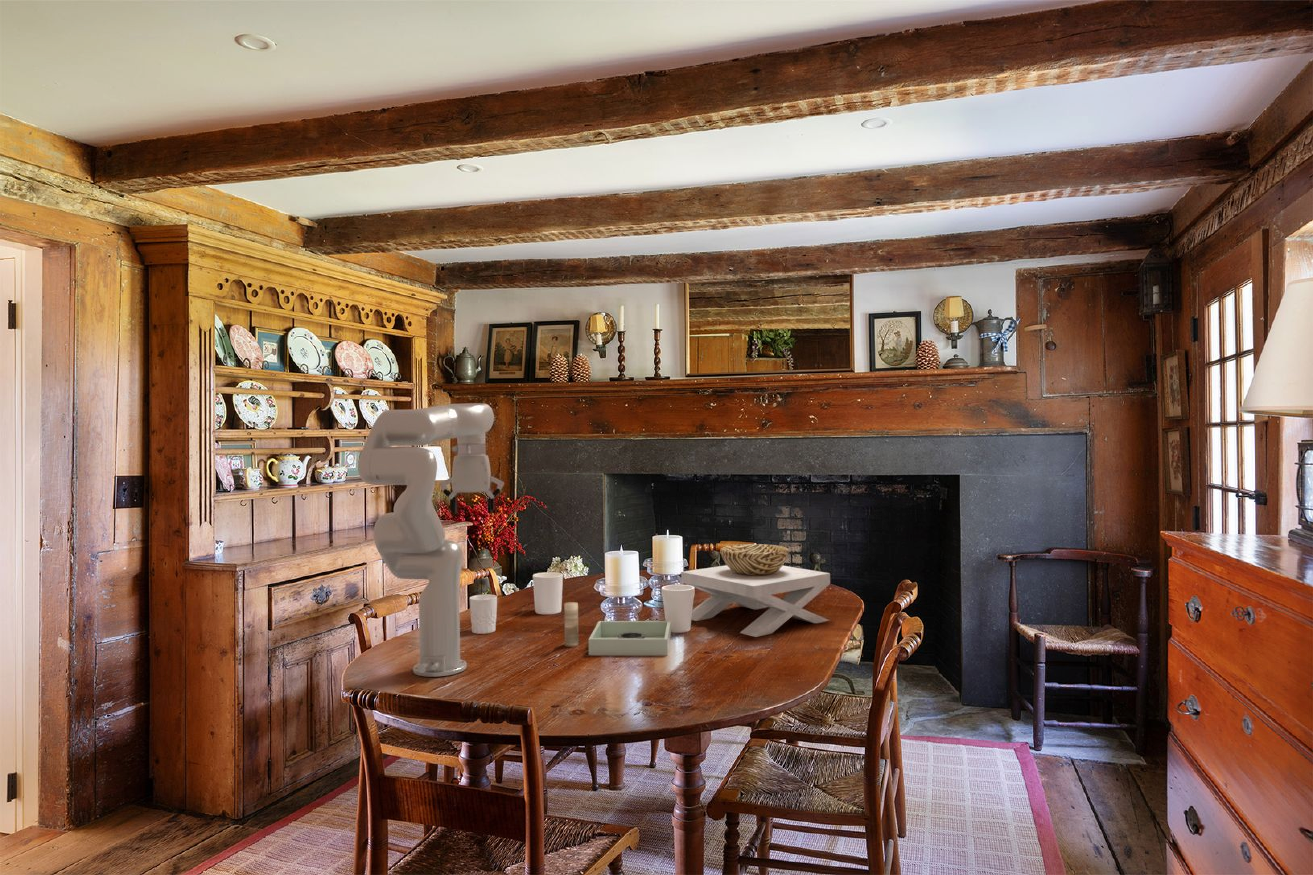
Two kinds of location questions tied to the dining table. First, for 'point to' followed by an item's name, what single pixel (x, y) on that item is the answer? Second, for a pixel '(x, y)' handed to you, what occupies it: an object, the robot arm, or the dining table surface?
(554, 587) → the candle holder
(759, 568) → the grey stool with basket
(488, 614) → the white cup
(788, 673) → the dining table surface
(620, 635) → the wick clip
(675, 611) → the foam cup
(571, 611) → the wick peg
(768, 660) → the dining table surface
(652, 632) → the pale green rectangular tray
